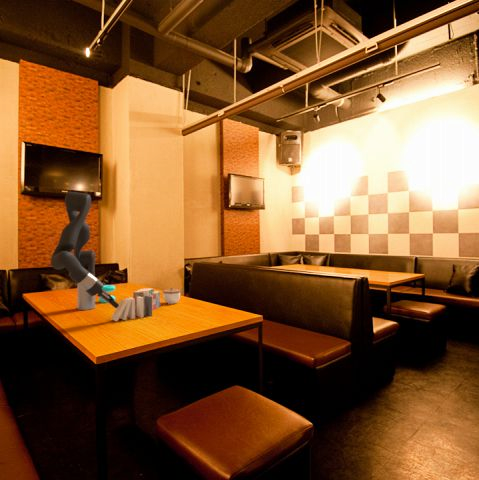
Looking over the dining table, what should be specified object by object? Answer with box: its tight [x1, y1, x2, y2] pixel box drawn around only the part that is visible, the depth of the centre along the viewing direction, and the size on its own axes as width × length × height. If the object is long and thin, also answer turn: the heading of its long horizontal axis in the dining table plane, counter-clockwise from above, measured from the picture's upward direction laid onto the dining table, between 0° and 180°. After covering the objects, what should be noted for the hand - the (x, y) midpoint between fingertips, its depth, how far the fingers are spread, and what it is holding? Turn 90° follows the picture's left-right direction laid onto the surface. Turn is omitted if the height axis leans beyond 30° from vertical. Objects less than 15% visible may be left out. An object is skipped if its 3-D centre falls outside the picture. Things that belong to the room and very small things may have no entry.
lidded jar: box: [162, 287, 181, 305], centre depth 205 cm, size 11×11×9 cm
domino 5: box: [144, 295, 153, 317], centre depth 172 cm, size 5×2×10 cm, turn 39°
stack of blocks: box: [132, 287, 161, 316], centre depth 184 cm, size 21×6×12 cm, turn 171°
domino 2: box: [119, 297, 132, 321], centre depth 164 cm, size 5×2×10 cm, turn 39°
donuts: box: [98, 284, 116, 304], centre depth 211 cm, size 10×10×10 cm
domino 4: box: [136, 296, 145, 318], centre depth 169 cm, size 5×2×10 cm, turn 39°
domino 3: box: [127, 297, 136, 320], centre depth 166 cm, size 5×2×10 cm, turn 39°
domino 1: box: [110, 299, 127, 322], centre depth 162 cm, size 5×2×10 cm
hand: (117, 306), depth 162 cm, fingers closed
